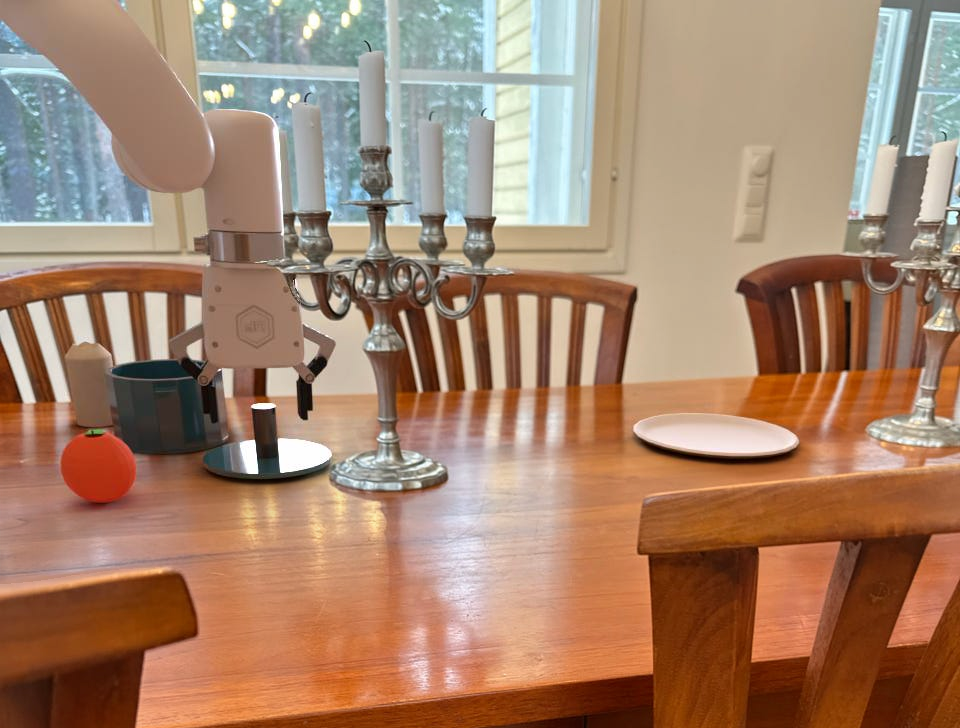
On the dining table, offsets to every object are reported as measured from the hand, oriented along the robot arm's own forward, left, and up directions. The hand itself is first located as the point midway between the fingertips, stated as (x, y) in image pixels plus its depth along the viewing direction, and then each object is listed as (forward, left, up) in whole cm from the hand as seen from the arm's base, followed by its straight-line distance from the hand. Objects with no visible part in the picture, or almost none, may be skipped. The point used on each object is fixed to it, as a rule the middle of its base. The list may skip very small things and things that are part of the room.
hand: (259, 419), depth 99 cm
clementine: (-16, -8, -6) cm, 19 cm away
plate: (+57, -3, -6) cm, 57 cm away
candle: (-18, +25, -6) cm, 32 cm away
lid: (+1, 0, -5) cm, 5 cm away
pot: (-9, +14, -5) cm, 18 cm away
